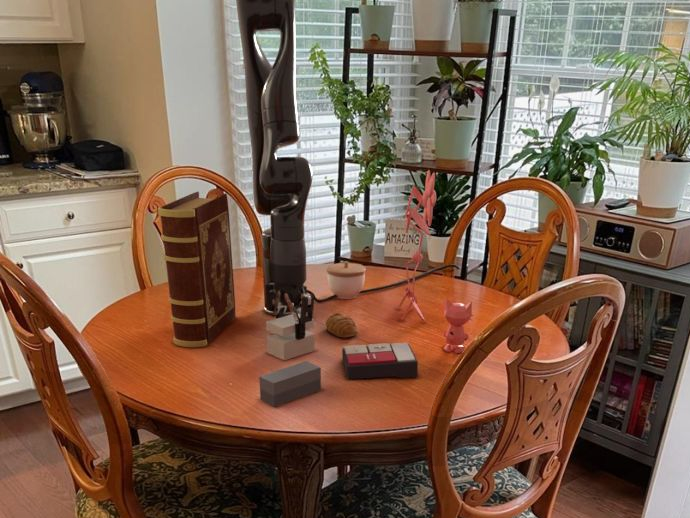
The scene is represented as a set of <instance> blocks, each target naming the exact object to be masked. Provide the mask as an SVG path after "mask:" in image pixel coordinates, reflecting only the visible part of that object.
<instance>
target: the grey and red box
mask: <svg viewBox="0 0 690 518" xmlns="http://www.w3.org/2000/svg"><path fill="white" fill-rule="evenodd" d="M341 354H342V355H341V356H342V364H343V367H344V371H345V375H346V379H347V380H361V379H376V378H389V377H397V378H399V379H409V378H411V379H412V378H417V377H418V367H419V365H418V363H419V362H418V359H417V357H416V355H415V353H414V351H413V349H412V347H411V345H410V344H409V343H408V342H396V343H389V342H383V343H370V344H367V345H366V344H354V345H353V344H352V345H344V347H342V348H341Z"/></svg>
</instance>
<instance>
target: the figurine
mask: <svg viewBox="0 0 690 518" xmlns="http://www.w3.org/2000/svg"><path fill="white" fill-rule="evenodd" d="M435 182H436V173H435V172H432V174H431V170H430V169H427V172H426V175H425V183H424V184H425V185H424V191H423V192H422V193H421V191H420V190H419V189H418V188H417V187H416V186H415V185H413V186H412V187H411V192H410V196H409V200H408V203H407V206H406V210H405V213H404V220H405V223H406V224H405V225H406V226H405V233H406V234H409V228H410V226H412V227H413V228H414V229H415V230H416V231H417V232H418V233H420V240H419V245H418V251H416V252H414V253H413V254H412V255H411V259H410V260H409V261H407V262H405V268H406V276H407V277H406V279H408V282H407V286H406V287H405V288H404V289H405V294H404V296H403V297H402V299H401V301H400V303H399V305H398V306H397V308H396V309H397V310H398V311H400V309H401V307H402V306H403V304H404V302H405V300H406V298H408V299H409V301H410V302H409V304H408V306H407V307H406V309H405V311H404V312H403V314H402V316H401V318H400V322H403V321H404V319H405V317H406V315H407V314H408V312H409V310H410V308H411V306H412V307H413V308H414V310H415V312H416V313H417V315H418V317H419V318H420V319H421V320H422V321H423V322H424V323H425V322H426V320H425V317H424V315H423V313H422V311H421V310H420V307H419V306H418V300H417V297H416V295H415V282H416V281H415V280H416V279H415V276H416V272H417V269H418V267H419V264H420V263H421V262H422V260H423V255H422V253H421V249H422V243H423V237H424V233H425V234H426V235H428V236H431V232H430V229H429V227H431V225H432V222H433V213H434V212H433V208H434V207H435V205H436V201H437V192H436V190H435ZM413 196H414V197H415V199H416V200H417V201H418V203H417V204H416V205H417V206H416V207H415V208H413V207H410V206H411V204H412V201H413V200H412V199H413ZM420 206H422V207H423V214H420V213H419V212H418V211H417V210H418V209H419V208H420ZM422 215H423V216H422ZM411 219H412V220H413V221H414V223H415V224H416V225H417V226H416V225H415V224H414V223H412V222H411ZM423 232H424V233H423ZM412 262H413V263H415V264H416V266H415V268H414V271H413V273H412V277H413V280H412V289H411V286H410V281H409V278H410V276H409V267H408V264H409V263H412ZM431 304H432V305H437V306H439V307H442V308H444V305H441V304H438V303H434V302H431ZM402 328H404V329H407V326H401V329H402Z"/></svg>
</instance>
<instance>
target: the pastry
mask: <svg viewBox="0 0 690 518" xmlns="http://www.w3.org/2000/svg"><path fill="white" fill-rule="evenodd" d="M325 327H326V330H327V331H328V332H329V333H330V334H332V335H333V336H335V337H338V338H348V337H355V336H356V334H357V333H358V330H357V328H358V327H357V325H356V322H355V320H354V319H353V318H352V317H351V316H349V315H346V314H344V313H341V312H335V313H333V314H331V315H329V317H327V319H326V321H325Z"/></svg>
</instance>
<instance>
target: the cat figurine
mask: <svg viewBox="0 0 690 518" xmlns="http://www.w3.org/2000/svg"><path fill="white" fill-rule="evenodd" d="M472 308H473V301H470V302H468V303H466V304H464V303H461V302H454V303H452V302H451V301H450V300H449V298H445V300H444V305H443V315H444V318H445V319H446V322H448V323H449V326H448V328H447V329H446V330H444V334H443V336H444V337H445V344H446V345H444V347H443V349H444V351H446V352H448V353H451V352H453V350H454V353H455V354H460V353H464V352H463V350H464V349H465V347H464V346H463V345H464V344H465V341H467V340H468V339H469V333H468V332H467V331H466V332H465V329H464V325H466V324H467V323H468V322H469V321H472V322H474V321H473V319H471V318H472V317H474V315H473V312H472V311H473V309H472ZM453 346H456V347H455V349H453Z"/></svg>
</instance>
